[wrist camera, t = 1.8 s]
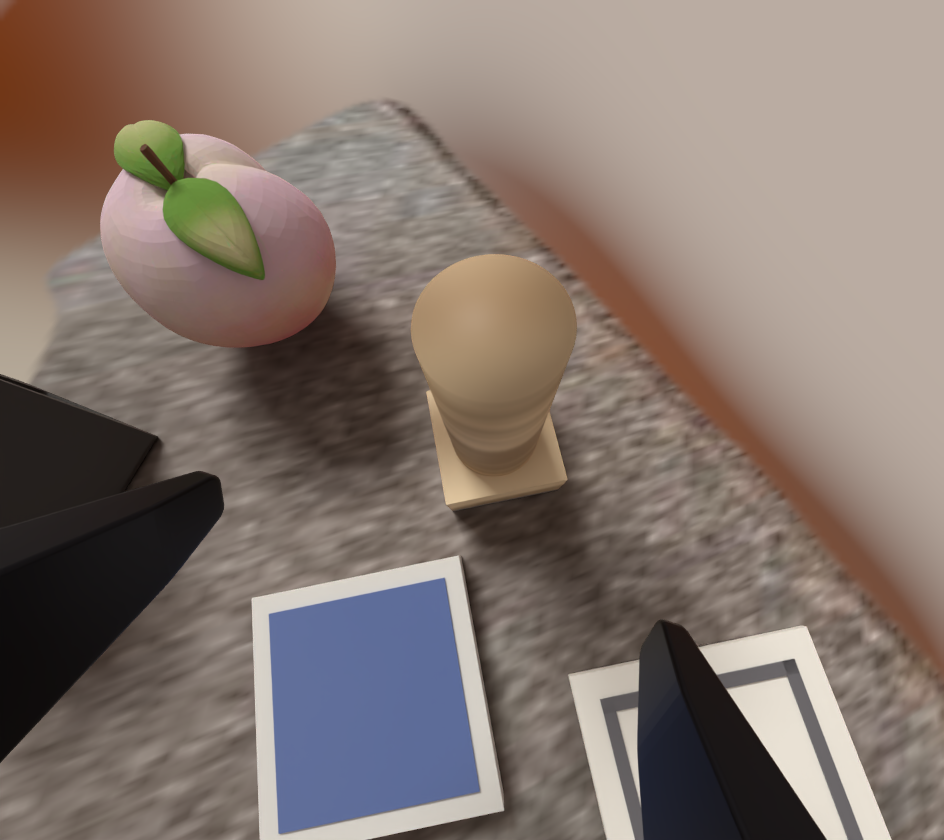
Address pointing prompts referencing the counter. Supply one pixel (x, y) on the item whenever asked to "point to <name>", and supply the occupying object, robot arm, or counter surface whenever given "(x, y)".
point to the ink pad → (371, 707)
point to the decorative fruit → (213, 239)
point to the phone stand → (60, 453)
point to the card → (770, 715)
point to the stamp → (494, 376)
